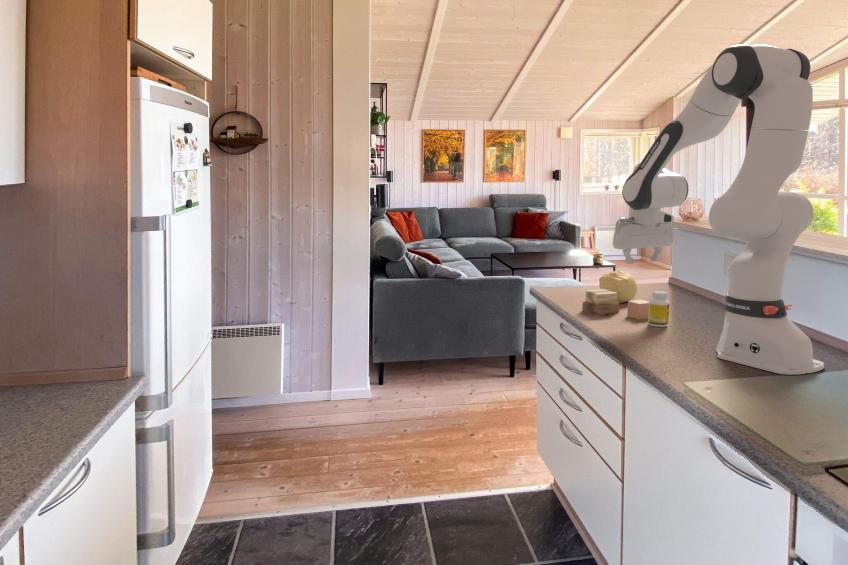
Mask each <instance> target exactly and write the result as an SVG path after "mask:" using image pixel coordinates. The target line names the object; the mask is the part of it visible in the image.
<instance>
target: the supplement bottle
mask: <svg viewBox="0 0 848 565" xmlns="http://www.w3.org/2000/svg"><path fill="white" fill-rule="evenodd" d="M651 296H652V298H651V299H650V300H649V301H648V302H649V317H648V319H647V320H648V321H647V323H648V325H649V326H651V327H656V328H658V327H659V328H665V327H668V325H669V312H670V301H669V300H668V299H667V298H668V292H666V291H662V290H655V291H652V295H651Z"/></svg>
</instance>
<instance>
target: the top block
mask: <svg viewBox="0 0 848 565" xmlns="http://www.w3.org/2000/svg"><path fill="white" fill-rule="evenodd" d="M585 301H587V302H590V303H592V304H595V305H607V304H617V293H615V292H612V291H609V290H606V289H591V290H590V289H587V290H585Z"/></svg>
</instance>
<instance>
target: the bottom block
mask: <svg viewBox="0 0 848 565" xmlns="http://www.w3.org/2000/svg"><path fill="white" fill-rule="evenodd" d="M581 310H582V312H584V313H588V314H592V315H596V314H597V315H596V316H600V315H604V316H607V315H606V314H609V315H614V314H617V313H618V314H619V313H620V312H619V311H620V303H617V304H607V305H595V304H592V303H590V302H587V301H586V300H585V301H584V300H583V301H582V308H581ZM613 313H614V314H613Z"/></svg>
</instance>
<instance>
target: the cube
mask: <svg viewBox="0 0 848 565" xmlns="http://www.w3.org/2000/svg"><path fill="white" fill-rule="evenodd" d="M649 302H650V301H648V300H644V299H634V300H633V299H632V300H630V301H627V314H626V316H627V317H628V318H632V319H634V318H635V320H640V319H641V320H648V317H649Z"/></svg>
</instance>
